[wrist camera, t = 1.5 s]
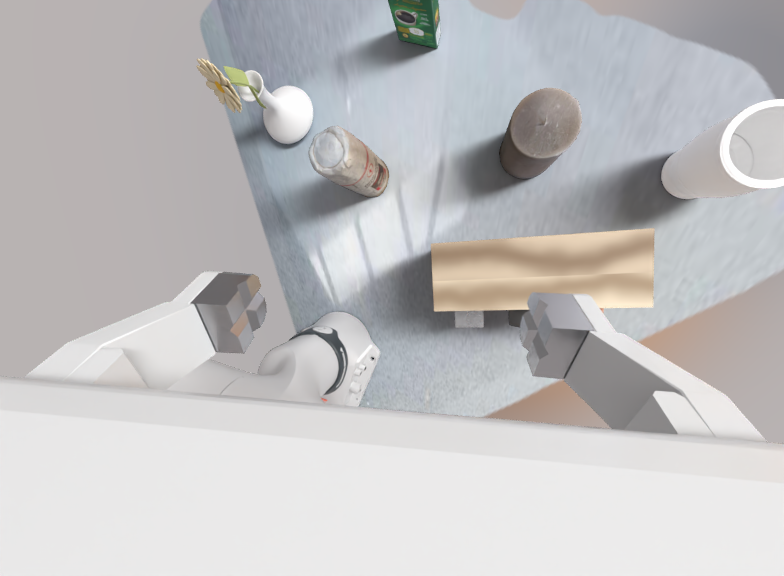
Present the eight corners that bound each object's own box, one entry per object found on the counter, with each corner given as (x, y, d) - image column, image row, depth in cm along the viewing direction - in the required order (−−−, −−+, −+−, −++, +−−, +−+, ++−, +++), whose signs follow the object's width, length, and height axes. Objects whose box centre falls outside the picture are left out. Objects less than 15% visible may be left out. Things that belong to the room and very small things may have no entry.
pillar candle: (488, 151, 60) (495, 119, 46) (532, 112, 58) (555, 66, 43) (521, 190, 60) (539, 171, 45) (568, 152, 57) (602, 120, 43)
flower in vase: (260, 112, 70) (150, 37, 46) (300, 78, 67) (205, -21, 43) (288, 163, 70) (193, 115, 45) (330, 132, 67) (252, 63, 43)
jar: (740, 181, 52) (847, 153, 37) (675, 218, 54) (750, 205, 40) (703, 127, 52) (794, 78, 38) (640, 166, 55) (702, 134, 40)
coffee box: (443, 33, 60) (437, -26, 47) (438, 50, 60) (430, -5, 48) (403, 25, 61) (387, -35, 49) (399, 41, 62) (381, -14, 49)
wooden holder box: (597, 291, 58) (653, 307, 41) (443, 295, 65) (434, 311, 47) (597, 236, 57) (654, 228, 40) (440, 246, 64) (430, 243, 47)
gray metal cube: (482, 321, 57) (483, 327, 53) (456, 321, 58) (455, 327, 54) (481, 293, 57) (482, 297, 52) (455, 294, 58) (454, 298, 53)
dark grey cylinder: (537, 320, 55) (544, 327, 50) (507, 321, 56) (510, 327, 51) (537, 292, 55) (544, 295, 50) (506, 293, 56) (510, 296, 51)
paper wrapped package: (370, 207, 66) (330, 188, 47) (343, 181, 67) (293, 151, 48) (398, 175, 64) (368, 142, 45) (369, 148, 65) (328, 104, 46)
